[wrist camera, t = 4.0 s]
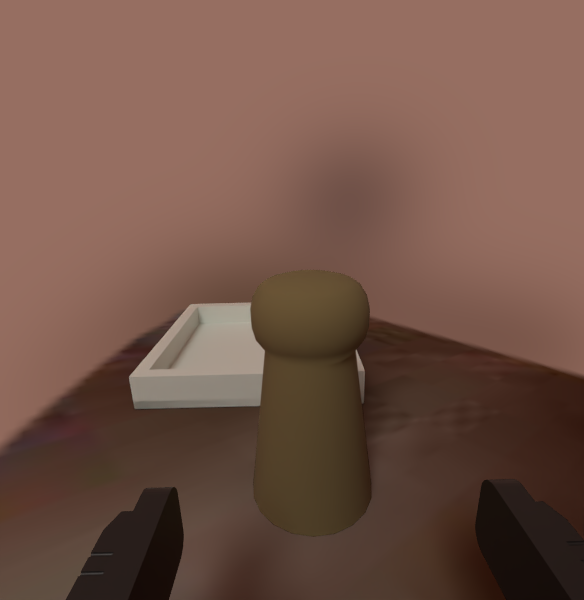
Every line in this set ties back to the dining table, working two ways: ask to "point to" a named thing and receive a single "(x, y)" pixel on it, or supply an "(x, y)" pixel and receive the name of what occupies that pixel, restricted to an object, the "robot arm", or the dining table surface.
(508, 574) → the robot arm
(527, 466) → the dining table surface
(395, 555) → the dining table surface
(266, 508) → the cork
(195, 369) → the serving tray
